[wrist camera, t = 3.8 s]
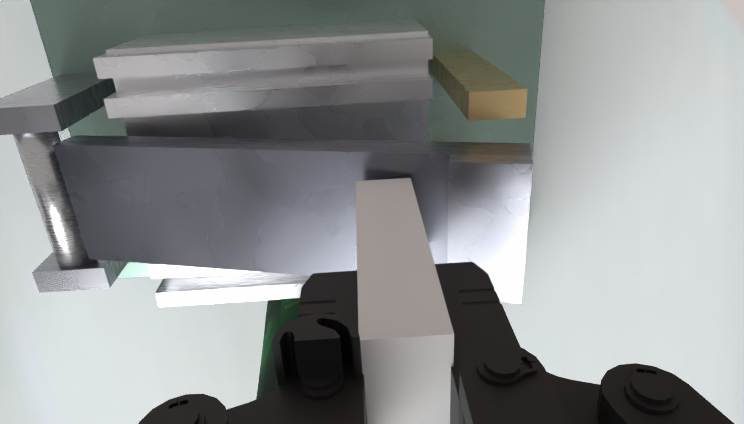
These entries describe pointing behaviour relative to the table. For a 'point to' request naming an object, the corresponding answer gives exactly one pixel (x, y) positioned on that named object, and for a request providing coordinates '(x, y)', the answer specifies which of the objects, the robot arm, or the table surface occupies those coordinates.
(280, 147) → the grey rectangular bar
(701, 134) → the table surface
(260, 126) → the heatsink base
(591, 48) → the table surface
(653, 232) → the table surface
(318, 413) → the robot arm
